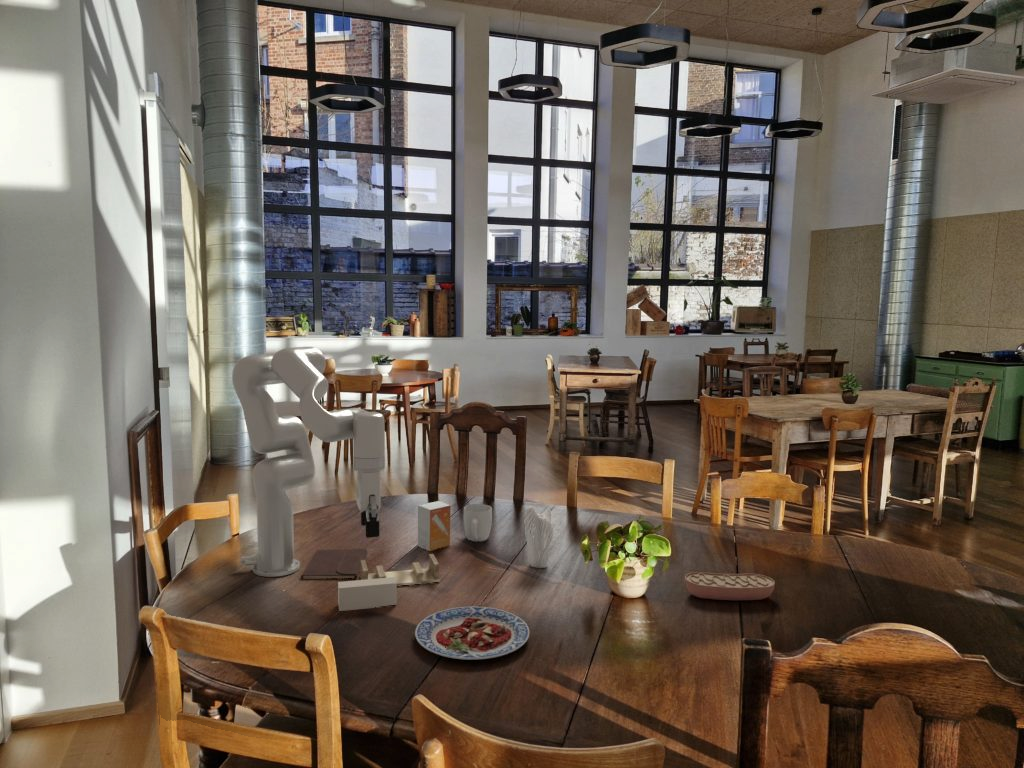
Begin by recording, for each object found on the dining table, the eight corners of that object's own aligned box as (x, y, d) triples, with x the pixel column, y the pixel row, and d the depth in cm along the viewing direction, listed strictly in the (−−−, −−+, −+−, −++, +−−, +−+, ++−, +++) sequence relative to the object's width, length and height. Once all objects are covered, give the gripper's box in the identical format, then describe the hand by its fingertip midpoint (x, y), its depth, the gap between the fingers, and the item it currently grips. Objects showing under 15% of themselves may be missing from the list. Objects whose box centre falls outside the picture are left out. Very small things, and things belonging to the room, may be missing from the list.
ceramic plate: (469, 605, 186) (469, 594, 186) (551, 637, 170) (552, 624, 170) (391, 641, 167) (391, 629, 166) (476, 681, 150) (476, 667, 150)
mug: (465, 533, 241) (466, 503, 240) (493, 534, 240) (493, 504, 239) (459, 546, 228) (459, 515, 227) (488, 548, 227) (488, 516, 226)
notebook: (300, 580, 201) (300, 573, 201) (316, 554, 220) (316, 548, 220) (356, 580, 202) (356, 573, 201) (367, 554, 221) (367, 548, 221)
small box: (429, 551, 223) (429, 509, 221) (417, 546, 228) (417, 505, 226) (450, 545, 229) (451, 504, 227) (437, 540, 233) (438, 500, 232)
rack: (363, 589, 194) (363, 571, 194) (360, 577, 203) (360, 559, 202) (439, 582, 200) (439, 564, 199) (432, 570, 208) (433, 553, 208)
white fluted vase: (553, 561, 217) (554, 501, 215) (552, 571, 209) (553, 509, 207) (525, 559, 218) (526, 499, 216) (522, 569, 210) (524, 508, 208)
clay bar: (339, 611, 181) (338, 588, 181) (338, 605, 185) (338, 581, 184) (396, 606, 185) (396, 583, 184) (394, 599, 189) (394, 577, 188)
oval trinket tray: (766, 591, 199) (768, 573, 198) (779, 607, 189) (780, 588, 188) (681, 589, 199) (681, 571, 198) (689, 605, 189) (690, 586, 188)
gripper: (350, 456, 189) (351, 521, 191) (357, 472, 172) (358, 543, 174) (379, 454, 191) (380, 519, 193) (389, 470, 175) (390, 540, 177)
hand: (370, 530), depth 184 cm, fingers open, 9 cm apart
